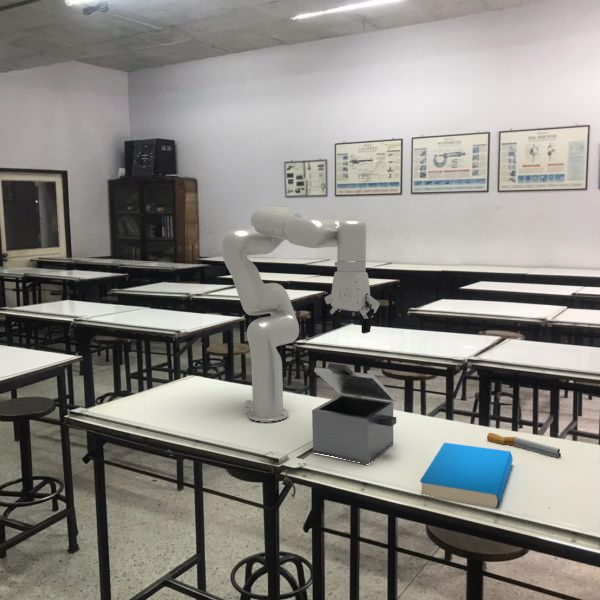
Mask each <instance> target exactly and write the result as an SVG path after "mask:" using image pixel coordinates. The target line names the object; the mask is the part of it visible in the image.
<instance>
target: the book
mask: <svg viewBox="0 0 600 600" xmlns="http://www.w3.org/2000/svg"><path fill="white" fill-rule="evenodd" d="M513 461H514V460H513V455H512V452H511V450H505V449H504V450H501V449H497V448H496V449H495V448H490V447H489V448H488V447H481V446H473V445H466V444H460V443H459V444H457V443H451V442H450V443H449V442H444V443H442V445H441V447H440V448H439V450H438V452H437V453H436V455H434V458H433V460H432V461H431V463H430V465H429V466H428V467H427V469H426V470H425V472H424V474H423V475H422V477H421V479H420V481H419V483H421V495H422V494H425V495H429V496H434V497H438V498H437V499H440V498H442V499H441V500H446V499H447V501H452V500H453V502H458V503H463V502H464V503H465V504H470V505H476V506H481V507H488V508H492V509H497V508H499V504H500V501H501V498H502V495H503V492H504V489H505V486H506V483H507V480H508V476H509V473H510V471H511V467H512V465H513ZM429 496H428V497H429ZM434 497H433V498H434Z"/></svg>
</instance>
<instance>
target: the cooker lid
mask: <svg viewBox="0 0 600 600" xmlns="http://www.w3.org/2000/svg"><path fill="white" fill-rule="evenodd" d="M313 371H314V372H315V374H316V375H318V376H319V377H320V378H321V379H322V380H323V381H324V382H326V383H327V384H328V385H329V386H331V387H332V389H333V390H335V391H336V392H337V393H338V394H339V395H348V396H355V397H361V398H368V399H375V400H382V401H389V402H395V401H396V397H395V396H394V395H393V394H392V392H390V391H389V390H388V388H387V387H386V386H384V384H383V383H382V382H381V381H380V380H379V379H378V378H377V376H375V375H374V374H373V373H371V374H370V373H361V372H354V371H353V370H352V369H351V368H350V367H349V366H348V365H347V364H340V363H338V364H337V363H331V362H328V365H327V368H324V367H323V368H322V367H321V368H320V367H314V370H313Z"/></svg>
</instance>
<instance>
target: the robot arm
mask: <svg viewBox="0 0 600 600" xmlns="http://www.w3.org/2000/svg"><path fill="white" fill-rule="evenodd" d="M250 217H251V218H250V224H251V226H252V227H251V228H250V227H249V228H236V229H233V230H231V231H228V233H226V234H225V236H224V237H223V240H222V242H221V243H222V244H221V256H222V258H223V261H224V264H225V266H226V268H227V270H228V272H229V274H230V276H231V278H232V281H233V283H234V287H235V290H236V293H237V296H238V298H239V301H240V304H241V306H242V310H243V311H244V312H245V314H247V315H248V316H259V315H260V316H261V315H266V314H270V315H269V316H264V317H259V318H257V319H255V320H254V319H253V320H252V322H250V324H249V325H248V327H247V330H246V337H247V342H248V345H249V346H248V347H249V352H250V360H251V361H250V362H251V388H252V399H246V400H245V402H244V404H243V407H244V408H247V409H249V412H248V414H247V416H249V417H248V419H249V418H250V419H249V420H251V419H252V420H255V421H254V422H256V421H260V422H259V423H264V422H268V423H272V422H271V421H277V422H279V421H278V420H281V421H283V420H282V419H284V418H286V417H287V416H288V417H289V411H288V410H287V409H285V408H284V394H283V393H284V389H283V388H284V387H283V385H284V384H283V361H282V357H281V355H280V353H279V352H278V349H277V347H279V346H283V345H287V344H291V343H294V342H295V341H296V340H297V338H298V337H299V335H300V327H299V326H300V325H299V322H298V319H297V315H296V312H295V309H294V306H293V305H292V302H291V298H290V297H289V296H290V295H289V294H288V292H287V290H286V288H284V286H282V284H279V283H276V282H269V283H264V282H263V279H262V278H261V277H262V276H261V275H260V271H259V270H258V267H257V266H256V265H255V264H254V263H253V261H251V260H250V259H249V257H248V256H259V255H260V256H261V255H269V254H271V253H272V252H274V251H275V250H276V249H277V248H278V247H279V246H280V245H281V244H282V243H283V242H284V241H285V240H287V242H289V243H291V244H292V245H294V246H295V245H296V246H300V247H304V248H311V249H321V248H334V247H337V248H336V249H337V251H336V252H337V255H336V257H337V258H336V259H337V261H335V262H334V267H336V269H337V270H336V271H334V274H333V279H332V285H331V293H330V294H328V295H327V296H325V297H324V301H325V304H326V307H327V309H328V310H329V314H330V315H331V316H332V317H331V324H332V325H331V326H332V329H333V330H336V329H340V328H342V313H341V311H349V312H360V314H361V316H362V317H363V318H361V333H362V334H369V333H371V329H372V318H374V315H375V314H376V313H377V311H378V309H379V307H380V305H381V304H380V302H379V301H378V300H377V299H375V298H374V297H373V296H371V289H370V280H369V274H368V272H366V270H367V269H366V267H367V266H366V265H367V264H366V263H367V262H366V261H367V257H366V256H367V251H366V250H367V224H366V223H365V222H364V221H363V220H356V219H354V220H353V219H351V220H350V219H349V220H343V219H338V218H337V219H336V218H335V219H330V218H329V219H325V218H323V219H309V218H305V217H303V215H302V214H301V213H300V212H298V211H296V210H293V209H291V208H289V207H287V206H261V207H259V208H257V209H255V210H254V211H253V213H252V214H251V216H250ZM370 307H371V308H370ZM288 417H287V418H288ZM287 418H286V419H287ZM252 420H251V421H252ZM284 420H285V419H284Z"/></svg>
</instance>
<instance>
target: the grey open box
mask: <svg viewBox="0 0 600 600" xmlns="http://www.w3.org/2000/svg"><path fill="white" fill-rule="evenodd" d="M311 416H312V419H311V422H312V423H311V425H312V454H313V453H319V454H324V455H329V456H334V457H338V458H342V459H346V460H350V461H355V462H360V463H365V464H369V463H371V462H372V461H373V462H374V461H376V460H377V459H378V458H380V456H382V455H383V454H384V453H385V452H387V451H388V450H389V449H390V448H391V447H393V446H394V425H396V424H397V416H394V401H388V400H381V399H375V398H368V397H361V396H354V395H347V394H339V395H337V396H335V397H334V398H331V400H328V401H326V402H324V403H323V404H321V405H318V406H317V407H315V408H313V409H312V410H311ZM387 449H388V450H387ZM386 450H387V451H386ZM376 458H377V459H376ZM375 459H376V460H375ZM373 462H372V463H373ZM372 463H371V464H372Z"/></svg>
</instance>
